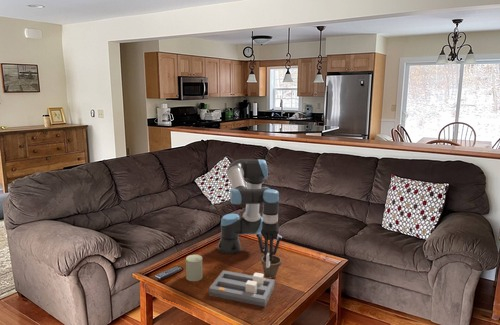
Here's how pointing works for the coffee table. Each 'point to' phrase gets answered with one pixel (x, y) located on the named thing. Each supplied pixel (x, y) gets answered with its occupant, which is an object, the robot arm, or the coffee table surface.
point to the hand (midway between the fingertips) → (268, 266)
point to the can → (194, 267)
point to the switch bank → (241, 288)
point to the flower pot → (271, 266)
